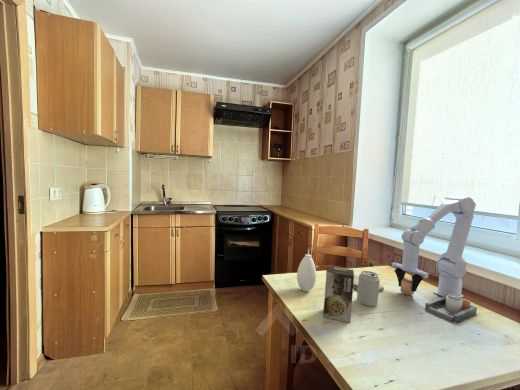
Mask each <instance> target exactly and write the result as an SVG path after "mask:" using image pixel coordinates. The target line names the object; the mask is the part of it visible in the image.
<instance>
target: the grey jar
mask: <svg viewBox="0 0 520 390" xmlns="http://www.w3.org/2000/svg"><path fill="white" fill-rule="evenodd" d="M461 298H462V297H459V296H457V295H453V294H448V295H447V296H446V304H445V305H444V309H445V311H446V312H449V313H452V314H456V313H459V312H461V311H462V302H463V300H462V299H461Z"/></svg>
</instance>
